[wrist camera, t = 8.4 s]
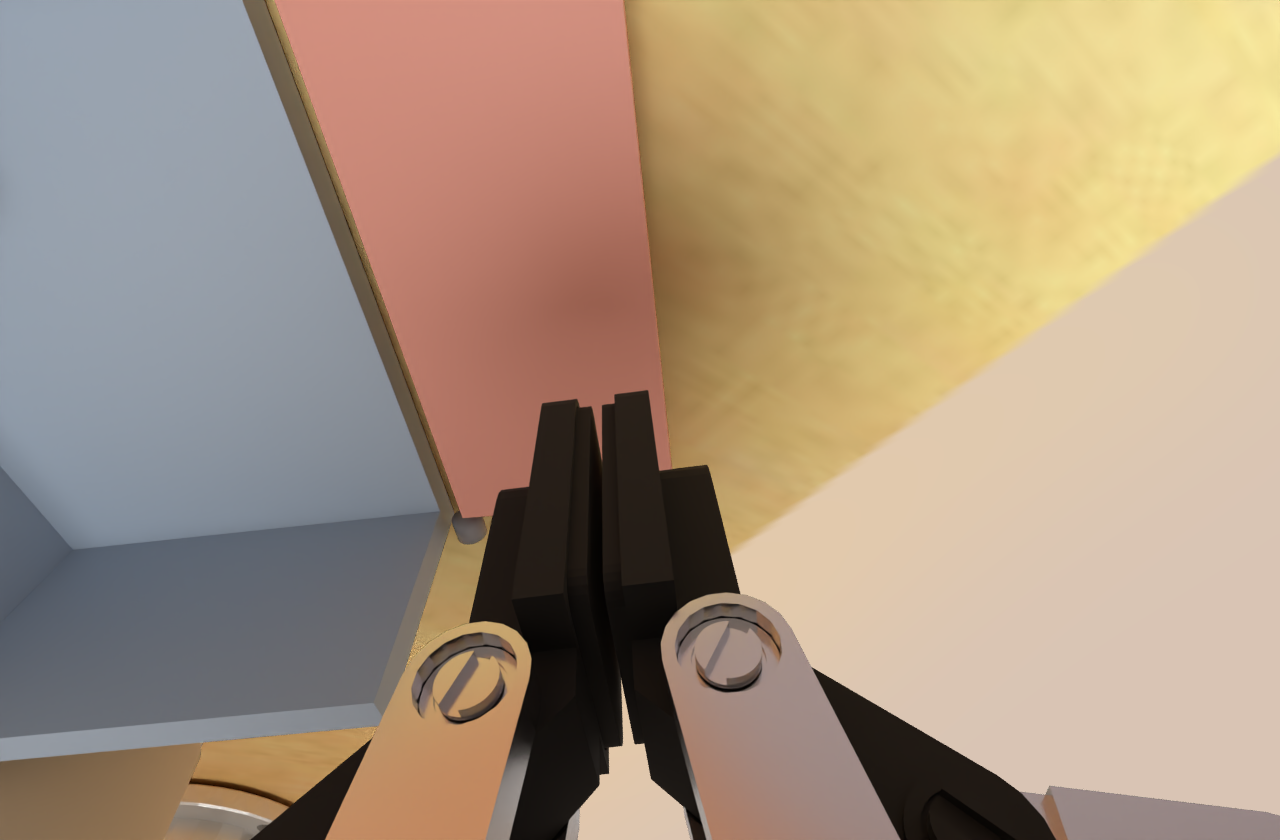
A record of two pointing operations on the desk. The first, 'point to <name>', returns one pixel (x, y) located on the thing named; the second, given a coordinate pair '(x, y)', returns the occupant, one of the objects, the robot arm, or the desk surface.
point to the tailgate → (493, 210)
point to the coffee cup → (95, 794)
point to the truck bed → (191, 397)
